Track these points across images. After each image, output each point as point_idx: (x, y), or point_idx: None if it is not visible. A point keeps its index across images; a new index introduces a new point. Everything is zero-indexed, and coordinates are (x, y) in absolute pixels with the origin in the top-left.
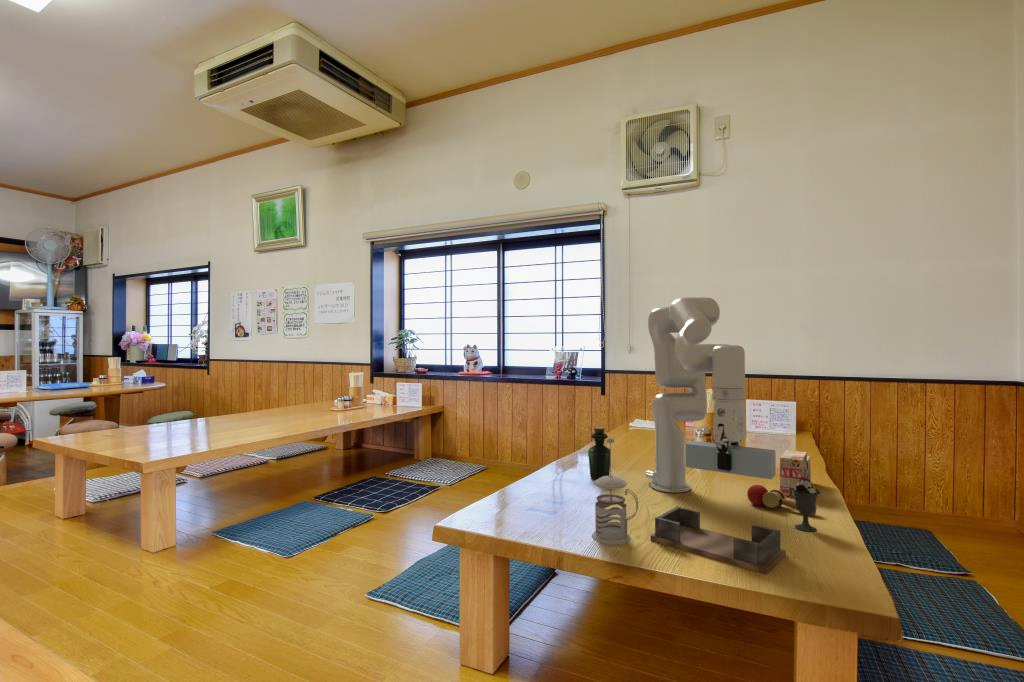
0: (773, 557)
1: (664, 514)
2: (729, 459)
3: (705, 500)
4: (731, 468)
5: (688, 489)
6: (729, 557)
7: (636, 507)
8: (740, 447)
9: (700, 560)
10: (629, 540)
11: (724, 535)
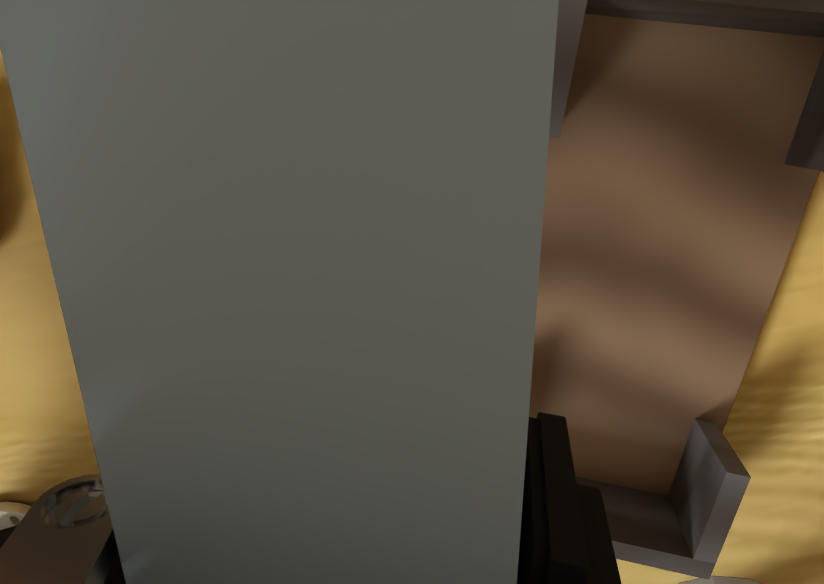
0: None
1: (626, 553)
2: (575, 518)
3: (77, 426)
4: (538, 419)
5: (18, 506)
6: (807, 186)
7: None
8: (230, 511)
9: (820, 300)
10: (728, 578)
11: None
